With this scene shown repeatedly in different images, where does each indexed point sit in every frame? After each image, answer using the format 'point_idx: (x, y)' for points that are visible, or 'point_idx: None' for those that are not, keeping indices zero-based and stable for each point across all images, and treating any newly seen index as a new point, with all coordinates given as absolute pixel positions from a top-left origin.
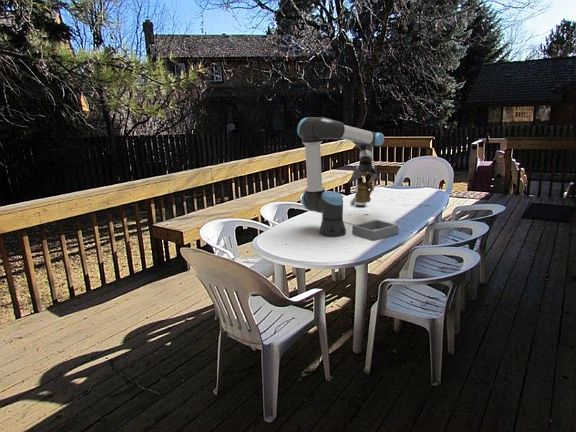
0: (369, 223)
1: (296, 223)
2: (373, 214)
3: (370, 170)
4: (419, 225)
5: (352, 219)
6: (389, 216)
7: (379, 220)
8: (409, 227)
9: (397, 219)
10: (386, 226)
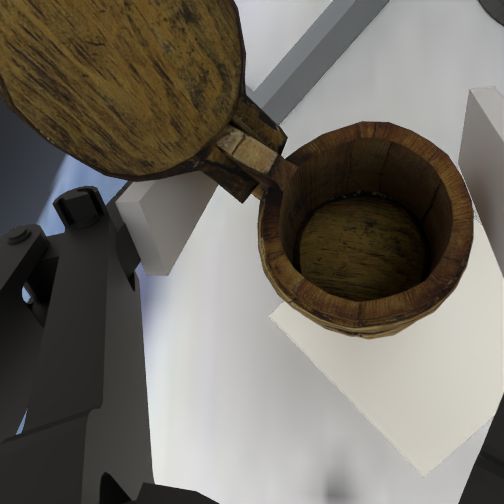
0: (308, 34)
1: None
2: (283, 491)
3: (38, 431)
4: (48, 221)
5: (442, 310)
6: (180, 426)
7: None
8: (97, 174)
9: None
10: None
